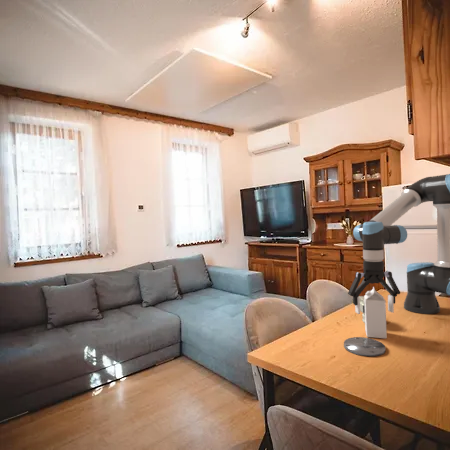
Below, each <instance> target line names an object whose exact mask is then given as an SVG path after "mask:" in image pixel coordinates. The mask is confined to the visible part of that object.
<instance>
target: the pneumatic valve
mask: <svg viewBox="0 0 450 450" xmlns="http://www.w3.org/2000/svg"><path fill="white" fill-rule="evenodd" d="M364 296H365V295H359V296H358V297H359V298H360V313H362V314H361V316H362V319H361V321H362V322H363V323H364V324H365V304H364Z"/></svg>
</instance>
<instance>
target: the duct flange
mask: <svg viewBox="0 0 450 450" xmlns="http://www.w3.org/2000/svg"><path fill="white" fill-rule="evenodd" d="M343 347H344V349H345V350H346V351H347V352H348V353H352V354H354V355H357V356H361V357H373V358H374V357H379V356H382V355H385V353H386V345H385V344H384V343H383V342H381V341H379V340H377V339H374V338H372V337H363V336H362V337H361V336H356V337H355V336H354V337H349V338H348V337H347V338H346V339H345V340H344V341H343Z"/></svg>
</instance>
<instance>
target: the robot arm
mask: <svg viewBox="0 0 450 450" xmlns="http://www.w3.org/2000/svg"><path fill="white" fill-rule="evenodd" d="M426 202H432V206H434V208H436V225H437V226H436V227H437V229H436V230H437V233H436V235H437V239H436V241H437V245H436V246H437V261H435V262H430V261H429V262H424V261H423V262H412V263H409V264H407V266H406V283H407V284H406V285H407V286H406V287H407V288H406V289H407V292H406V293H407V294H406V296H405V300H404V301H403V309H405V310H406V311H409V312H412V313H417V314H425V315H430V314H438V313H440V311H441V307H440V304H439V301H438V299H437V295H436V293H439V294H444V295H447V296H450V173H447V174H442V175H433V176H426V177H423V178H421V179H419V180H417V181H415V182H413V183H412V184H411V185H409V186H408V187H406V188H405V189H404V190H402V191H401V192H400V195H399V196H398V197H396V199H395V200H393V201H392V202H391V203H390V204H388V205H387V206H386V207H385V208H384V209H383V210H381V211H379V213H377V214H376V215H375V216H373V217H372V218H371V219H369V221H365V222H363V224H358V225H356V226H355V227H354V228H353V238H354V239H355V240H357V241H359V242H362V259H363V261H362V266H363V267H362V268H363V272H358V271H357V272H356V271H355V275H354V276H355V278H354V280H353V281H352V283H351V286H350V288H349V290H348V292H347V295H348V296H351V297H352V304H353V306H354V309H355V310H354V312H355V313H356V314H358V315H360V314H361V311H360V298H359V297H358V296H361V294H362V292H363V291H364V290H365V288H366V287H367V286H368V285H370V284H380V285H381V286H382V287H383V288H384V289H385V290H386V291H387V293H389V294H388V295H387V311H388V312H390V313H394V307H395V306H394V305H395V304H396V297H397V296H398V295H400V294H401V291H400V289H399V287H398V285H397V282H396V281H395V279H394V278H393V273H392V272H391V271H388V270H386V271H384V270H385V264H384V263H385V262H384V259H385V258H384V257H385V255H384V254H385V252H384V249H385V248H384V246H385V245H392V244H393V245H394V244H396V245H398V244H401V243H404V242H405V241H407V238H408V230H407V229H406V227H404V226H403V225H398V224H394V223H396V222H397V221H398V220H399V219H400V218H401V217H403V216H404V215H405V214H406V213H408V212H410V210H411V209H412V208H414V207H418V206H419V205H421V204H423V203H426ZM393 224H394V225H393ZM384 277H385V278H386V280H387V281H388V283H389V284H387V282H386V281H385V279H384ZM362 278H363V279H362ZM361 280H362V281H361ZM360 282H361V283H360ZM390 286H391V287H390Z"/></svg>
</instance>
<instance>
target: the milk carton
mask: <svg viewBox="0 0 450 450" xmlns="http://www.w3.org/2000/svg"><path fill="white" fill-rule="evenodd" d="M363 296H364V304H365V323H364V328H365V329H364V330H365V334H366V338H373V339H374V338H377V339H387V307H386V305H387V304H386V300H385V298H384V296H383V295H382V294H380V293H379V292H378V291H377V290H376V289H375V286H372V289H370V290H367V291H366V292H365V295H363Z"/></svg>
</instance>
